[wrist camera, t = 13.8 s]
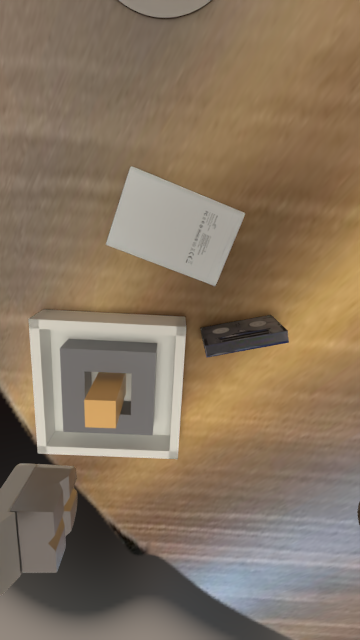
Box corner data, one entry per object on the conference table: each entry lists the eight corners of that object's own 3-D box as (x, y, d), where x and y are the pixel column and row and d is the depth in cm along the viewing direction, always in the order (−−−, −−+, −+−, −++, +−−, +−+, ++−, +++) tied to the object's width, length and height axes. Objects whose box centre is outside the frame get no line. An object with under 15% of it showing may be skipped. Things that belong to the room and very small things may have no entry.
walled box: (43, 309, 38) (28, 319, 34) (185, 316, 38) (186, 326, 34) (50, 432, 42) (37, 453, 38) (177, 437, 43) (177, 458, 39)
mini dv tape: (202, 339, 39) (207, 360, 33) (200, 327, 39) (204, 346, 33) (272, 326, 39) (289, 345, 33) (270, 314, 38) (287, 330, 33)
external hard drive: (132, 167, 34) (243, 213, 36) (108, 244, 36) (213, 284, 38) (130, 165, 33) (246, 212, 34) (105, 245, 35) (215, 287, 36)
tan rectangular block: (99, 369, 39) (84, 399, 32) (125, 370, 39) (115, 401, 32) (100, 392, 40) (85, 427, 33) (125, 393, 40) (115, 428, 33)
